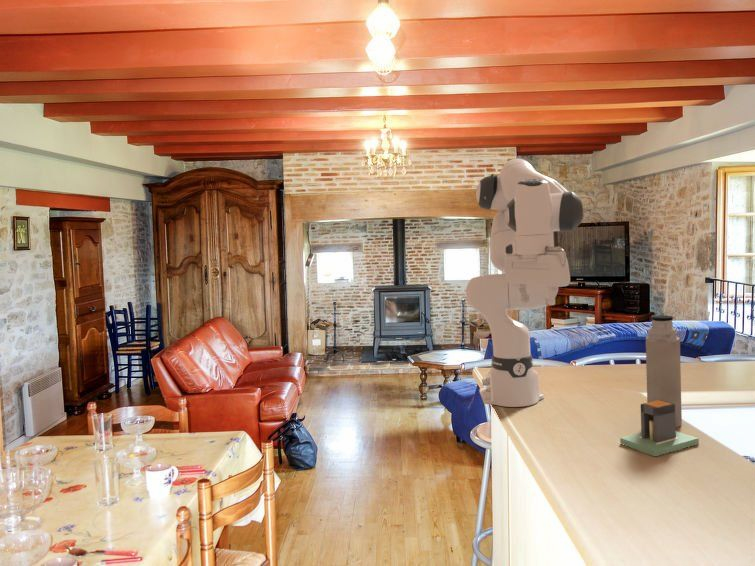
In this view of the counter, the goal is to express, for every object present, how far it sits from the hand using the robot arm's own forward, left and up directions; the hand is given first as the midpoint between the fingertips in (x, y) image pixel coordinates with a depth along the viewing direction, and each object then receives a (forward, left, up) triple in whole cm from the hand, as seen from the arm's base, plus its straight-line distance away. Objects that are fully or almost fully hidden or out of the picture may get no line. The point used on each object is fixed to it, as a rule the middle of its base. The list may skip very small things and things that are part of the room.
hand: (537, 303), depth 147 cm
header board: (+11, +24, -34) cm, 43 cm away
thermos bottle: (-2, +34, -34) cm, 48 cm away
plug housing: (+11, +24, -32) cm, 42 cm away
